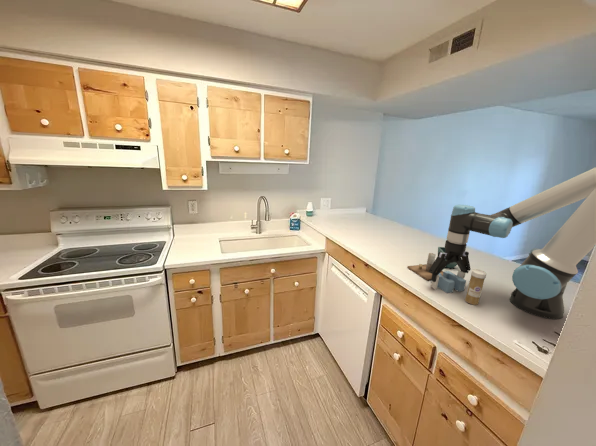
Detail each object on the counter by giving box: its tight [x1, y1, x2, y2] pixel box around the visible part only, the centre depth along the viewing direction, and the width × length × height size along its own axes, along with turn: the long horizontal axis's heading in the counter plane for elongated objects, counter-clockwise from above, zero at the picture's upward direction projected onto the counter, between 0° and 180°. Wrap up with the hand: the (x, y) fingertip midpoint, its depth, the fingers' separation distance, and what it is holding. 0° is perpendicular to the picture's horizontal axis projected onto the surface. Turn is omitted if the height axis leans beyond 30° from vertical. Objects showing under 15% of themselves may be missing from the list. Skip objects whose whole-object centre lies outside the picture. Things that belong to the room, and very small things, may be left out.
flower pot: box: [437, 246, 458, 269], centre depth 128 cm, size 9×9×9 cm
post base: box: [407, 252, 444, 282], centre depth 119 cm, size 14×14×10 cm
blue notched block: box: [430, 270, 467, 294], centre depth 107 cm, size 9×9×5 cm
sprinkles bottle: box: [464, 268, 487, 306], centre depth 95 cm, size 5×5×14 cm
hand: (446, 286), depth 108 cm, fingers open, 13 cm apart
